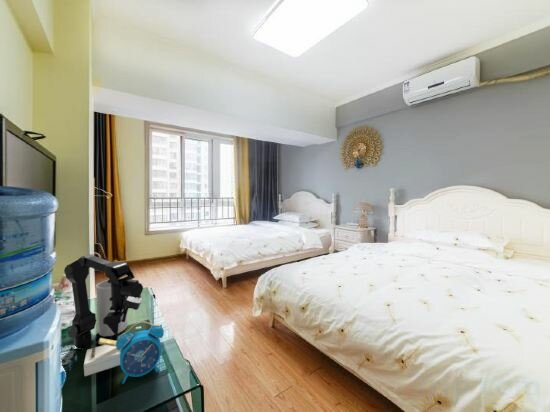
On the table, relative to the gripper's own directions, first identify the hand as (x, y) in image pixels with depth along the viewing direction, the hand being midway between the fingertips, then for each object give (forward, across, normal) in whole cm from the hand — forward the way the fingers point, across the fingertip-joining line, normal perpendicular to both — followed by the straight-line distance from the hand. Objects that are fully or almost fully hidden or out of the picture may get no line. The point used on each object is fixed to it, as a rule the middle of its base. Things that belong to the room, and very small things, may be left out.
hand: (120, 327), depth 105 cm
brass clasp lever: (+6, -2, +3) cm, 7 cm away
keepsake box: (+13, -2, +4) cm, 14 cm away
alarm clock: (+13, -13, -12) cm, 22 cm away
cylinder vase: (+14, +23, +10) cm, 29 cm away
